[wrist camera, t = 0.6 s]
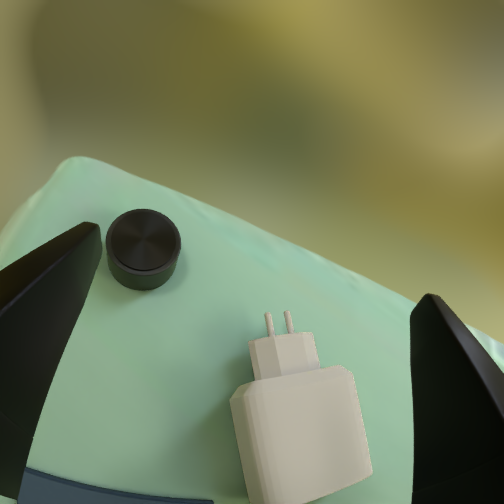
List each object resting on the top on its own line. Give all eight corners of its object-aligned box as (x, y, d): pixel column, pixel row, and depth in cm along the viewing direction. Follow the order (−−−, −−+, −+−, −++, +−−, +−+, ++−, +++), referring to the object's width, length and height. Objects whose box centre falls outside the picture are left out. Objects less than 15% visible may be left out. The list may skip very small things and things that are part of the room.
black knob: (170, 297, 26) (175, 282, 23) (100, 282, 24) (96, 265, 22) (180, 235, 29) (186, 215, 26) (117, 222, 27) (116, 201, 25)
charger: (311, 316, 30) (344, 469, 23) (213, 324, 26) (246, 500, 20) (338, 297, 26) (378, 473, 19) (229, 306, 22) (269, 515, 16)
